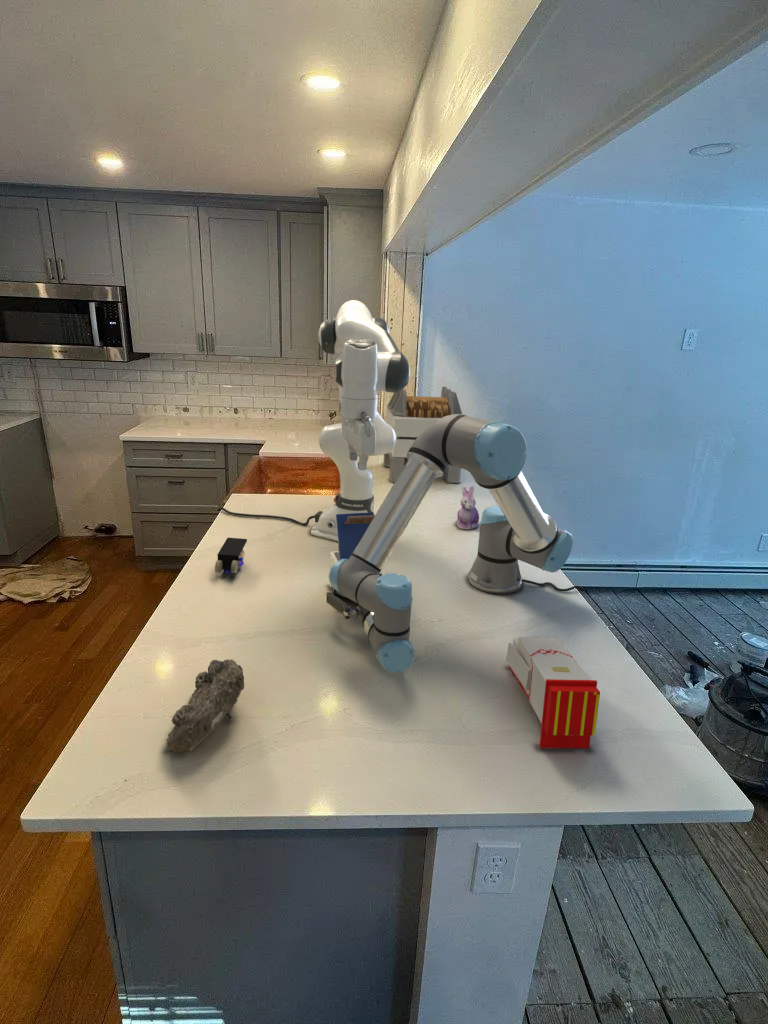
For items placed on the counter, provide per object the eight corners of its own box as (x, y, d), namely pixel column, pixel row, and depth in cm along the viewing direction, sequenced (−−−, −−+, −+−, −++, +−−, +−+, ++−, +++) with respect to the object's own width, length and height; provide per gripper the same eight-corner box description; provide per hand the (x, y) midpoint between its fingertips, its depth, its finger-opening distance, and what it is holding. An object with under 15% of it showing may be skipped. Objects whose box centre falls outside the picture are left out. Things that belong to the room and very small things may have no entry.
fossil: (192, 660, 117) (244, 628, 112) (224, 691, 120) (276, 661, 115) (142, 746, 98) (202, 712, 93) (182, 779, 101) (242, 748, 96)
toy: (554, 620, 129) (609, 687, 99) (549, 674, 131) (601, 755, 102) (501, 619, 128) (541, 686, 99) (497, 673, 131) (534, 754, 102)
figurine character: (238, 584, 162) (249, 557, 175) (236, 562, 158) (247, 536, 172) (215, 584, 161) (227, 556, 175) (212, 561, 158) (225, 535, 171)
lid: (335, 514, 146) (341, 509, 139) (372, 512, 149) (380, 507, 141) (340, 572, 144) (347, 570, 137) (378, 569, 147) (386, 567, 139)
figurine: (464, 532, 204) (468, 492, 199) (449, 522, 212) (452, 484, 207) (486, 528, 208) (490, 489, 203) (469, 519, 216) (473, 481, 211)
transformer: (382, 463, 289) (386, 382, 275) (445, 464, 293) (451, 384, 279) (390, 482, 257) (394, 392, 243) (460, 483, 261) (468, 394, 247)
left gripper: (383, 417, 128) (380, 475, 133) (361, 402, 147) (360, 454, 151) (356, 417, 127) (354, 476, 131) (337, 402, 145) (337, 455, 150)
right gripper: (326, 642, 128) (311, 597, 147) (427, 630, 134) (400, 588, 154) (327, 613, 125) (311, 571, 145) (429, 602, 132) (401, 563, 151)
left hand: (357, 464), depth 141 cm, fingers open, 8 cm apart
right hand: (357, 580), depth 149 cm, fingers open, 12 cm apart
